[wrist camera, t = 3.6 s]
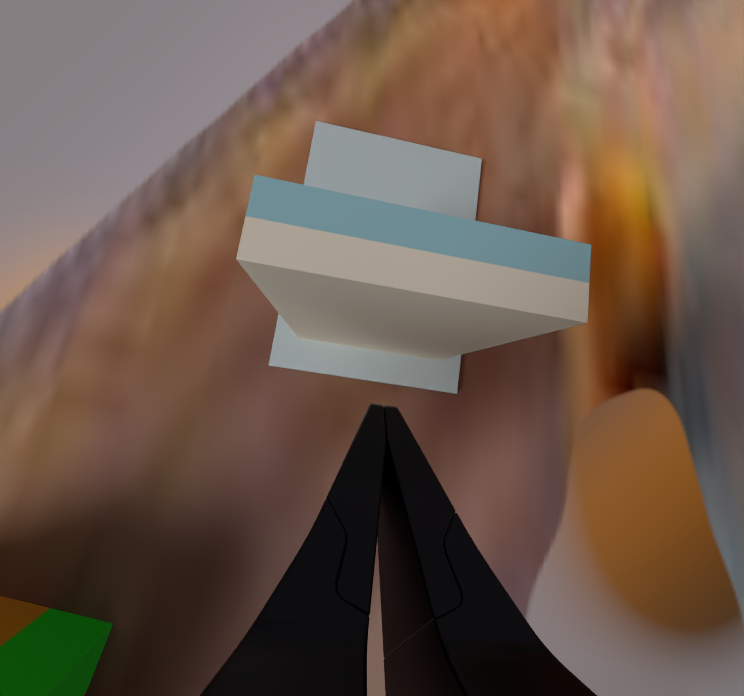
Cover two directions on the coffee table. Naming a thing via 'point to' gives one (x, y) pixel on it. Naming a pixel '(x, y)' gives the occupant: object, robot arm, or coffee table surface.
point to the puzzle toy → (47, 650)
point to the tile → (406, 273)
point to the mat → (393, 185)
